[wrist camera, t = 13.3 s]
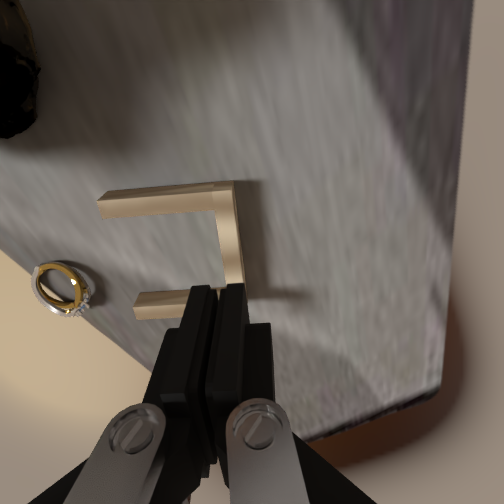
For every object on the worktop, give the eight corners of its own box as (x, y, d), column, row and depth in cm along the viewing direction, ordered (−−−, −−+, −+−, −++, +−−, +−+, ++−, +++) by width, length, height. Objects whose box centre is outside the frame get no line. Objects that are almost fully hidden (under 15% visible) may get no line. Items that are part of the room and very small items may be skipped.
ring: (29, 275, 44) (73, 318, 46) (11, 286, 41) (59, 332, 43) (63, 246, 43) (108, 292, 45) (46, 255, 40) (95, 304, 42)
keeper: (107, 191, 37) (73, 221, 30) (233, 180, 37) (227, 209, 30) (147, 316, 46) (127, 361, 39) (249, 310, 46) (247, 355, 39)
